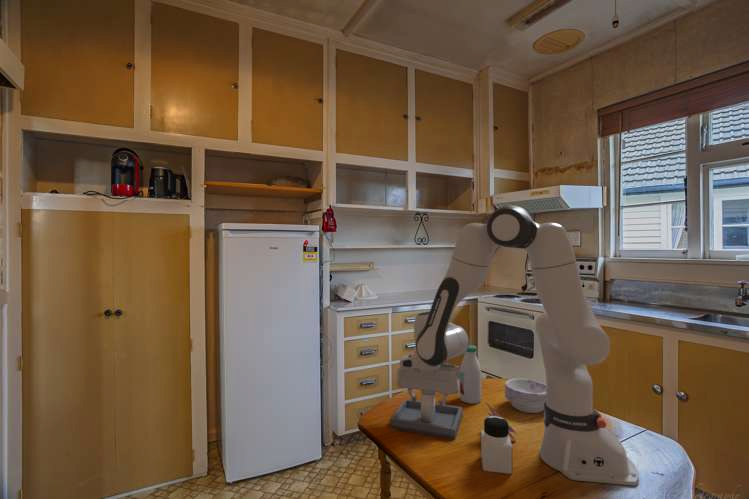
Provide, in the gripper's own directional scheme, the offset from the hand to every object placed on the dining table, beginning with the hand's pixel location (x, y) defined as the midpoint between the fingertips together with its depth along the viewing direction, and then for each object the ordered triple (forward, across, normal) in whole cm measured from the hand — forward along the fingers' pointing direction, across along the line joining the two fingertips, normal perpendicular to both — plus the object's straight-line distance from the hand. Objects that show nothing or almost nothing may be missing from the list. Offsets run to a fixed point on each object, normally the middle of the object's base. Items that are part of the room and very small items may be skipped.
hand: (427, 403), depth 122 cm
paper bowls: (+6, -31, -23) cm, 39 cm away
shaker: (+5, 0, 0) cm, 5 cm away
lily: (+6, -22, +3) cm, 23 cm away
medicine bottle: (+6, -22, +17) cm, 29 cm away
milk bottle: (+6, -11, -22) cm, 26 cm away
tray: (+6, 0, 0) cm, 6 cm away
